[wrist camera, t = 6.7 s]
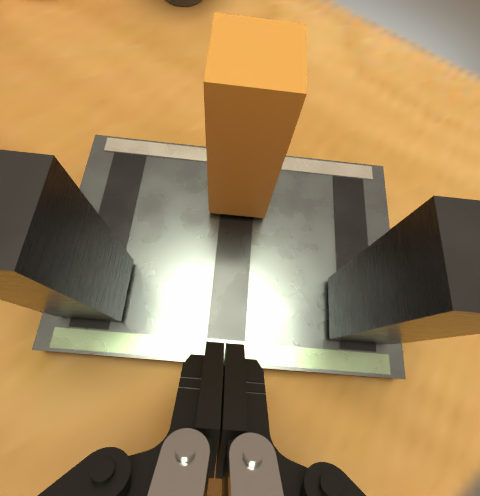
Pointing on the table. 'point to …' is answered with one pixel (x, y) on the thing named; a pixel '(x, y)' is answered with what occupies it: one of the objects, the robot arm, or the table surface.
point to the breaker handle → (251, 108)
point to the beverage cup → (183, 2)
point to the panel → (232, 261)
